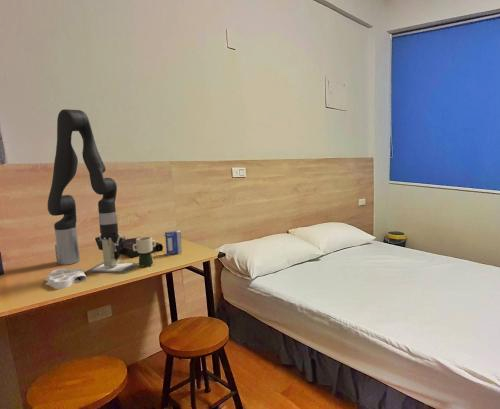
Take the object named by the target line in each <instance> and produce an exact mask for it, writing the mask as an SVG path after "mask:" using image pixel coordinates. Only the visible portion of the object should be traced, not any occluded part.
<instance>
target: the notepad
mask: <svg viewBox="0 0 500 409" xmlns="http://www.w3.org/2000/svg"><path fill="white" fill-rule="evenodd" d="M138 265H139V262H121V261H120V263H118V264H116V265H114V266H112V267H111V266H104V261H103V262H101V263H98V264H97V265H95V266H94V267H92V268H90V269H88V270H85V273H98V274H99V273H100V274H101V273H103V274H126V273H128V272H129V271H131V270H132V269H134V268H135V267H137V266H138Z"/></svg>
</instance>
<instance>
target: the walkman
mask: <svg viewBox="0 0 500 409" xmlns="http://www.w3.org/2000/svg"><path fill="white" fill-rule="evenodd" d="M164 235H165V238H164V239H165V249H166V250H165V251H166V255H167V256H169V255H172V254H173V255H181V254H180V253H183V248H182V232H181V230H172V231H164Z"/></svg>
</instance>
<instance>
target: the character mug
mask: <svg viewBox="0 0 500 409" xmlns="http://www.w3.org/2000/svg"><path fill="white" fill-rule="evenodd" d="M139 237H140V238H137V237H136V238H137V239H136V244H133V251H137V252H138V253H140V255H139V257H138V263H139V264H138V265H139V266H141V267H148V266H151V265H153V264H154V260H153V256H152V253H150V252H151V251H152V250H153V247H155V246H156V243H157V242H156V240H155V239H153V237H152V236H139ZM152 242H154V245H152ZM135 246H136V247H137V249H135Z"/></svg>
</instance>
